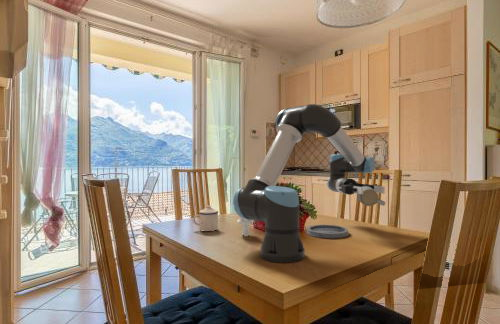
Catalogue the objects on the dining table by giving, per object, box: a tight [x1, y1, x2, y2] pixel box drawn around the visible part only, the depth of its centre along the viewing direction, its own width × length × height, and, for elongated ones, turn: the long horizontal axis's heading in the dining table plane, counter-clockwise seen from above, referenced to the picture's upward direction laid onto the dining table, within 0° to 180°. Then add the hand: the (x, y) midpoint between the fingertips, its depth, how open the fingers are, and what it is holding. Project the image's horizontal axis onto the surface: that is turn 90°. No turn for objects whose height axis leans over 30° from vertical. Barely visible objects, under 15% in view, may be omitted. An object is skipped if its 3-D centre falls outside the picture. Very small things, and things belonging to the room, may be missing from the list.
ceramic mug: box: [356, 186, 387, 207], centre depth 124 cm, size 11×8×8 cm
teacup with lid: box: [192, 205, 219, 231], centre depth 142 cm, size 12×9×12 cm
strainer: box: [236, 215, 254, 237], centre depth 131 cm, size 7×7×15 cm
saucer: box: [306, 224, 350, 240], centre depth 133 cm, size 18×18×2 cm
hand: (372, 190), depth 121 cm, fingers closed on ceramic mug, 9 cm apart
